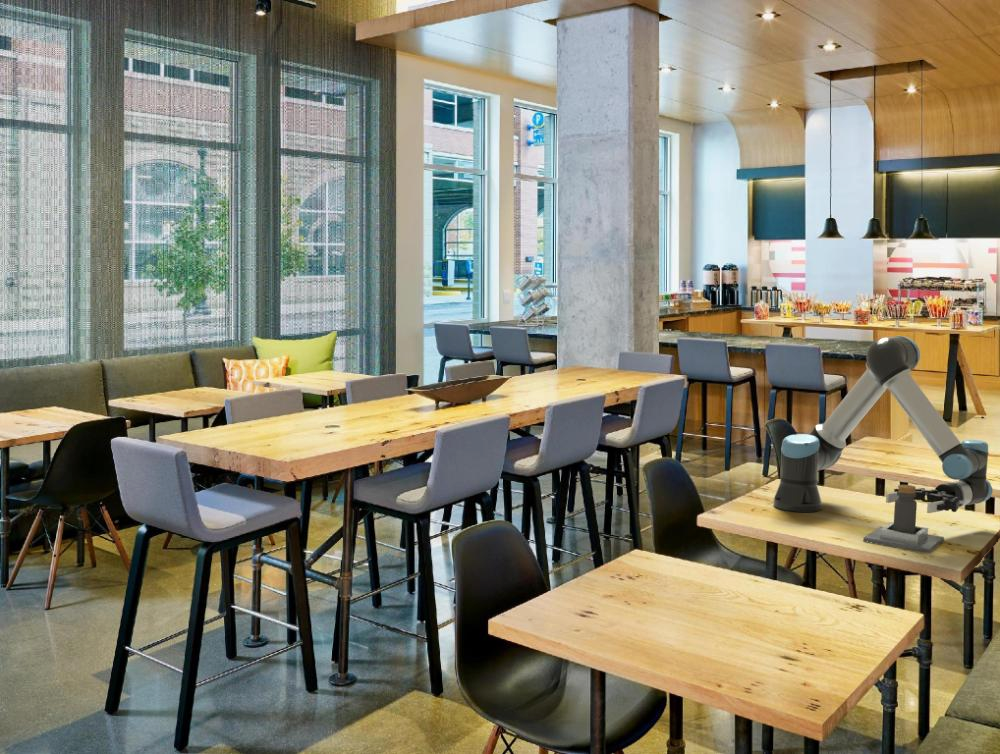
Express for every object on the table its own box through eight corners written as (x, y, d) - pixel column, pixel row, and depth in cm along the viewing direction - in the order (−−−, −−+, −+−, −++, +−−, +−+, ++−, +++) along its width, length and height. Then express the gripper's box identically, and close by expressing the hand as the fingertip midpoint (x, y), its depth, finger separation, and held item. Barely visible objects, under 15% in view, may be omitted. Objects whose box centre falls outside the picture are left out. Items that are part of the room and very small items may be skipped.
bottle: (890, 537, 284) (893, 486, 282) (896, 533, 288) (899, 483, 287) (911, 541, 280) (914, 489, 278) (917, 536, 285) (920, 486, 283)
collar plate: (863, 541, 284) (864, 528, 283) (880, 530, 296) (881, 518, 296) (928, 553, 273) (929, 540, 272) (943, 540, 285) (944, 528, 285)
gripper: (990, 516, 284) (945, 525, 273) (914, 498, 305) (870, 506, 294) (992, 491, 283) (947, 499, 272) (916, 474, 304) (871, 481, 293)
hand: (907, 503), depth 283 cm, fingers open, 13 cm apart
